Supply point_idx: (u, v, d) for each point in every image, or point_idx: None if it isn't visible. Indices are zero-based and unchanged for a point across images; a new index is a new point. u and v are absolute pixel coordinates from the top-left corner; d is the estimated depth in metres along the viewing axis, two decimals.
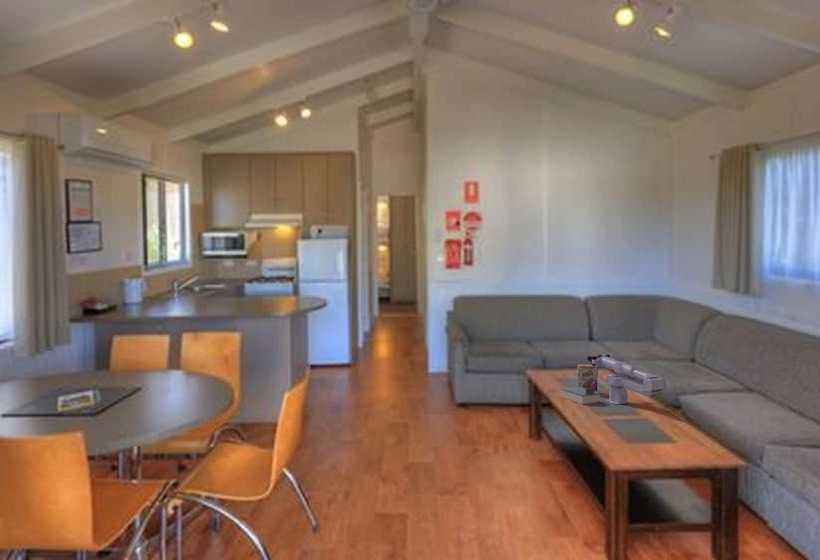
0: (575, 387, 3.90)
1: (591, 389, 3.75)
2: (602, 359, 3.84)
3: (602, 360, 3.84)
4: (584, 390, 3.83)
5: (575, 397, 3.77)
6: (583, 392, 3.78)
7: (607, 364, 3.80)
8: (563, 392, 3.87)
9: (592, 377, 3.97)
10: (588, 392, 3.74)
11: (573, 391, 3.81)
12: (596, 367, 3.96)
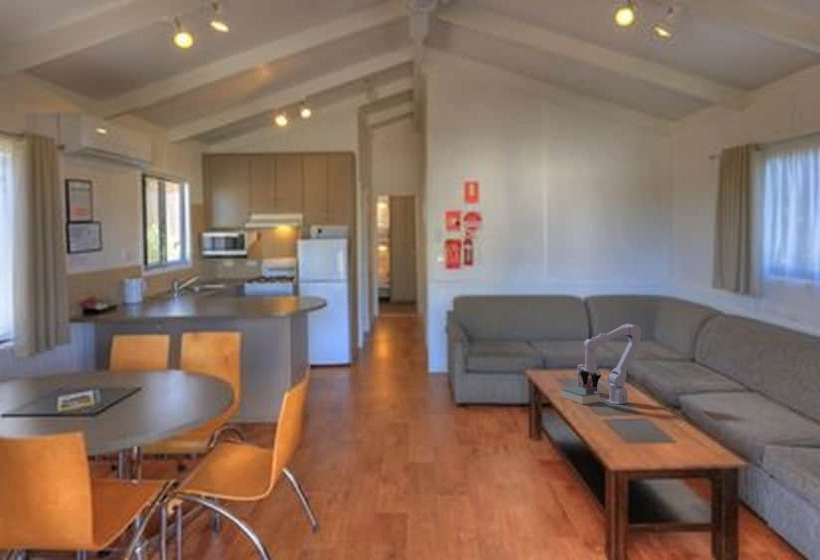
0: (575, 387, 3.90)
1: (591, 389, 3.75)
2: (590, 368, 3.72)
3: (591, 367, 3.72)
4: (584, 390, 3.83)
5: (575, 397, 3.77)
6: (583, 392, 3.78)
7: (592, 359, 3.71)
8: (563, 392, 3.87)
9: None
10: (588, 392, 3.74)
11: (573, 391, 3.81)
12: (596, 367, 3.96)
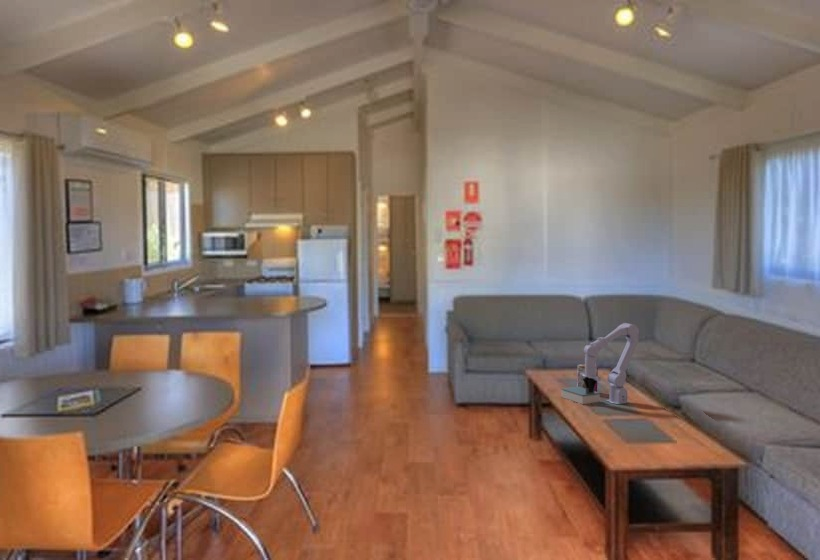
0: (575, 387, 3.90)
1: None
2: (590, 374, 3.72)
3: (591, 373, 3.72)
4: (584, 390, 3.83)
5: (575, 397, 3.77)
6: (583, 392, 3.78)
7: (592, 365, 3.72)
8: (563, 392, 3.87)
9: None
10: (588, 392, 3.74)
11: (573, 391, 3.81)
12: (596, 367, 3.96)
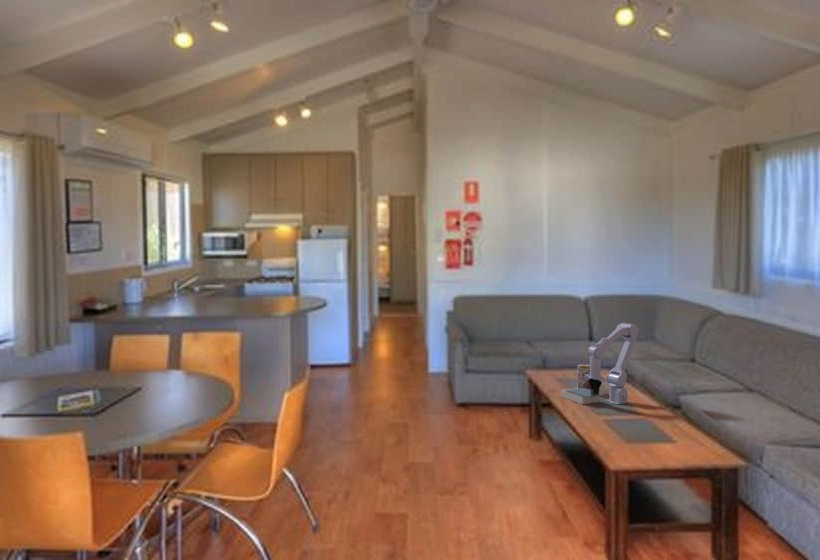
0: (580, 388, 3.87)
1: None
2: (595, 375, 3.68)
3: (596, 375, 3.68)
4: (589, 391, 3.79)
5: (575, 397, 3.77)
6: (588, 393, 3.75)
7: (598, 366, 3.68)
8: (563, 392, 3.87)
9: None
10: (593, 393, 3.71)
11: (578, 392, 3.77)
12: None
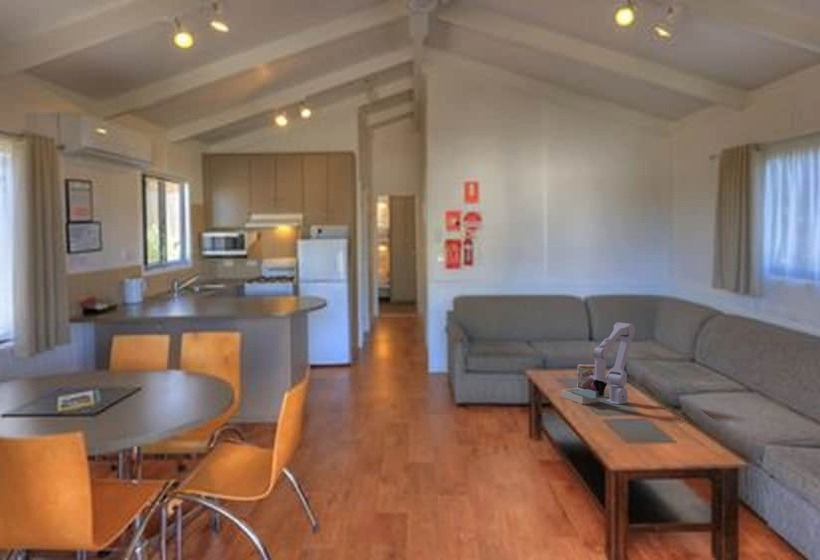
0: (584, 390, 3.83)
1: None
2: (600, 376, 3.65)
3: (601, 376, 3.65)
4: (594, 393, 3.76)
5: (575, 397, 3.77)
6: (593, 395, 3.71)
7: (604, 367, 3.65)
8: (563, 392, 3.87)
9: None
10: (598, 395, 3.67)
11: (583, 394, 3.73)
12: None
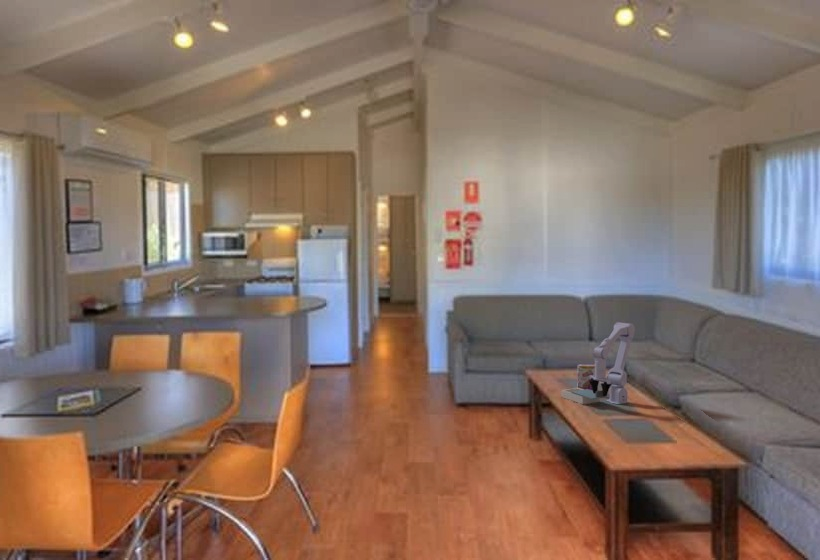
0: (584, 390, 3.83)
1: (601, 392, 3.68)
2: (600, 376, 3.65)
3: (601, 376, 3.65)
4: None
5: (575, 397, 3.77)
6: (593, 395, 3.71)
7: (604, 367, 3.65)
8: (563, 392, 3.87)
9: None
10: (598, 395, 3.67)
11: (583, 394, 3.73)
12: None
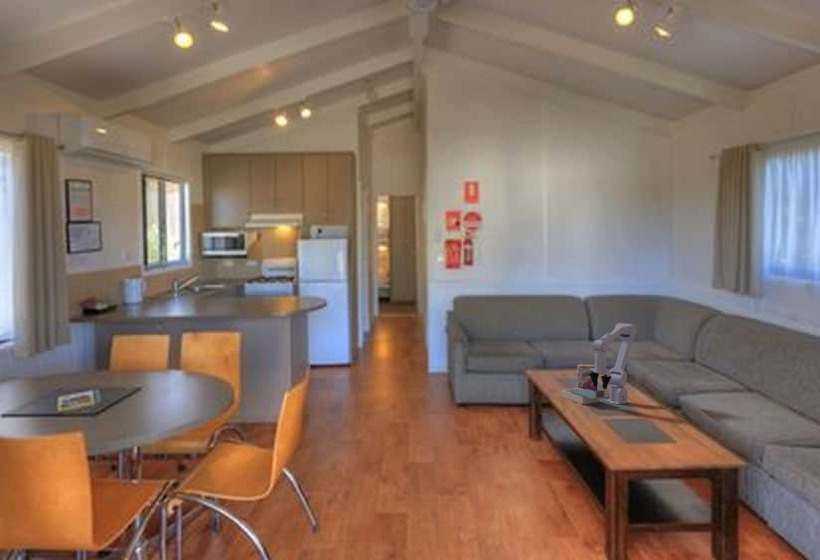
0: (584, 390, 3.83)
1: (601, 392, 3.68)
2: (600, 369, 3.65)
3: (601, 369, 3.64)
4: (594, 393, 3.76)
5: (575, 397, 3.77)
6: (593, 395, 3.71)
7: (604, 360, 3.65)
8: (563, 392, 3.87)
9: None
10: (598, 395, 3.67)
11: (583, 394, 3.73)
12: None
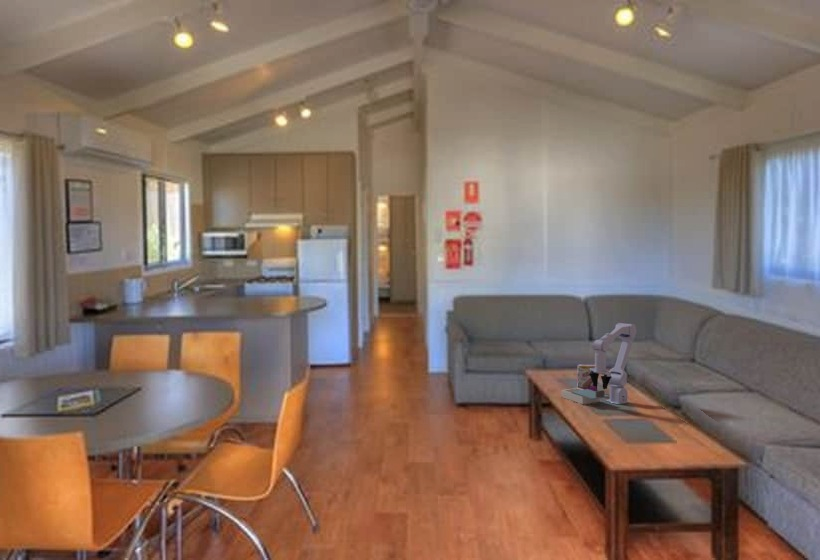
0: (584, 390, 3.83)
1: (601, 392, 3.68)
2: (600, 369, 3.65)
3: (601, 369, 3.64)
4: (594, 393, 3.76)
5: (575, 397, 3.77)
6: (593, 395, 3.71)
7: (604, 360, 3.65)
8: (563, 392, 3.87)
9: None
10: (598, 395, 3.67)
11: (583, 394, 3.73)
12: None
